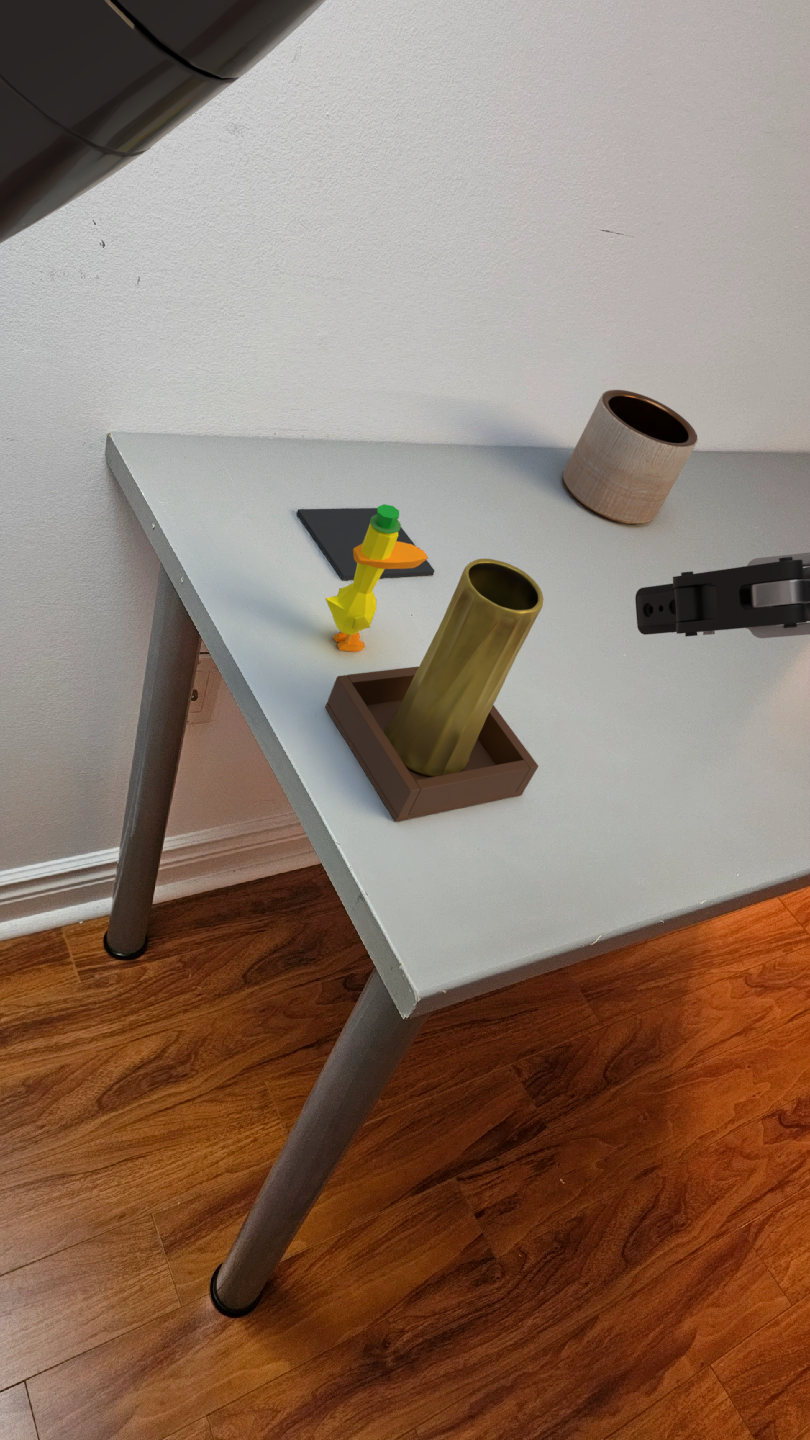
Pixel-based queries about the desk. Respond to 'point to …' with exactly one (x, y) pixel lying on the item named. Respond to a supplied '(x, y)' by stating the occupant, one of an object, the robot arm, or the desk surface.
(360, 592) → the toy figure
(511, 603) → the vase
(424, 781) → the tray
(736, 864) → the desk surface
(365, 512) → the mat
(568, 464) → the planter
